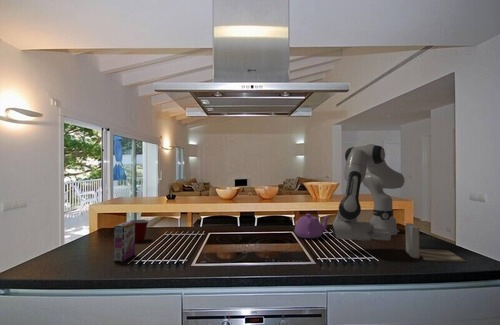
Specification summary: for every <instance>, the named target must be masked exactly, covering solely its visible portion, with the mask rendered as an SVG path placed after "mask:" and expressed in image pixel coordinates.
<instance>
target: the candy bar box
mask: <svg viewBox="0 0 500 325" xmlns="http://www.w3.org/2000/svg"><path fill="white" fill-rule="evenodd" d="M135 244H136V243H135V222H130V221H125V222H122V223H119V224H116V225H114V226H113V262H118V263H119V262H120V263H122V262H123V263H124V262H125V261H126V260H128V259H130V258H131V257H133V256H135V252H136V250H135V247H136V246H135Z"/></svg>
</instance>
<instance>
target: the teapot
mask: <svg viewBox="0 0 500 325" xmlns="http://www.w3.org/2000/svg"><path fill="white" fill-rule="evenodd" d="M330 216H331V214H328V215H326V216H324V217H323V218H324V219H323V224H321V222H320V220H319V219H318V217H316V216H313V215H312V214H311V213H305V216H301V217H299V218H298V220H297V221H296V224H295V226H294V233H295V235H296V236H297V237H299V238H301V239H314V238H315V239H318V238H320V237H321V236H322V235H323V234H324V231H326V230H327V228H328V218H329V217H330Z"/></svg>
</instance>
